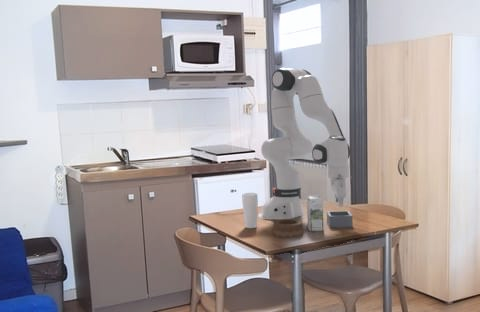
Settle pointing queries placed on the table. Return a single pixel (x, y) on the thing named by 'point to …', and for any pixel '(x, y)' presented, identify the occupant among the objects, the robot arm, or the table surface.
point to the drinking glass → (250, 209)
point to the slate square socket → (339, 219)
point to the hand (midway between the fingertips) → (339, 204)
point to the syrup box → (315, 213)
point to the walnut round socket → (288, 228)
